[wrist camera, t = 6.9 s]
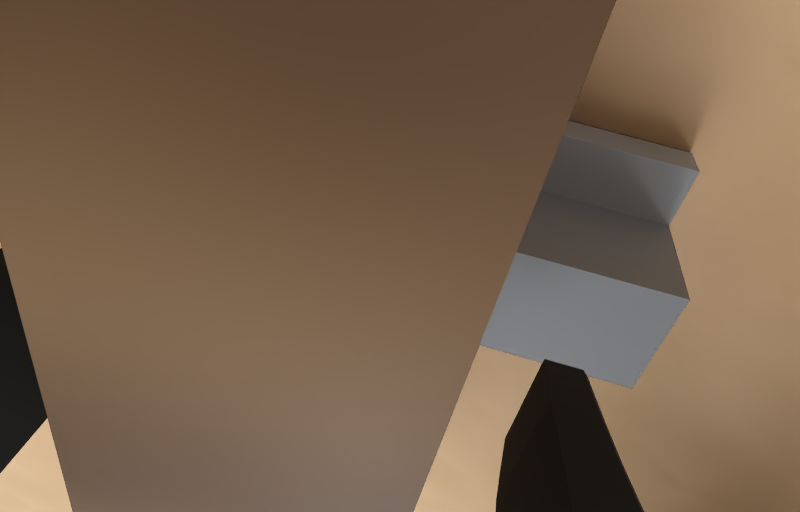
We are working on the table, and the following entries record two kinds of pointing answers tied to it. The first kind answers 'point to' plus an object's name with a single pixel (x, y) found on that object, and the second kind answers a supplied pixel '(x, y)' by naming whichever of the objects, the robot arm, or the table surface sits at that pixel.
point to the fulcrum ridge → (597, 258)
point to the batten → (269, 232)
